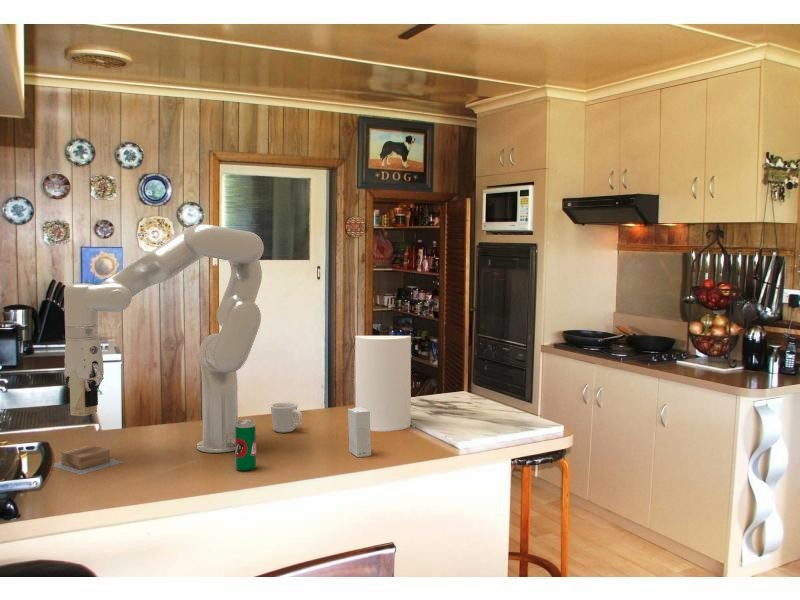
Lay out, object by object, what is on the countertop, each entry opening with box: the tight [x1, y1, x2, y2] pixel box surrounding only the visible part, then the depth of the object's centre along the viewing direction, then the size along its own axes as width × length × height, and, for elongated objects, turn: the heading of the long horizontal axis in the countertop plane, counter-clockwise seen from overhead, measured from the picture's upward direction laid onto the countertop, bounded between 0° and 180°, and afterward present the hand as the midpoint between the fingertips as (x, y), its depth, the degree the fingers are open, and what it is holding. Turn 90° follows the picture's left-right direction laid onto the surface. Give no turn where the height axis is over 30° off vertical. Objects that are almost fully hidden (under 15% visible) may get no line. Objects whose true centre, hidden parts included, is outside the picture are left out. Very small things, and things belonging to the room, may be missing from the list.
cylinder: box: [354, 335, 412, 432], centre depth 220 cm, size 17×17×28 cm
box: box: [69, 371, 98, 417], centre depth 177 cm, size 5×4×11 cm
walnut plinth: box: [60, 444, 111, 470], centre depth 178 cm, size 8×8×3 cm
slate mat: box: [53, 458, 124, 475], centre depth 178 cm, size 14×12×1 cm
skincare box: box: [347, 407, 372, 458], centre depth 189 cm, size 6×4×12 cm
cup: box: [270, 401, 303, 434], centre depth 212 cm, size 11×8×8 cm
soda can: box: [234, 419, 257, 472], centre depth 176 cm, size 5×5×12 cm
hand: (83, 403), depth 177 cm, fingers closed on box, 5 cm apart
